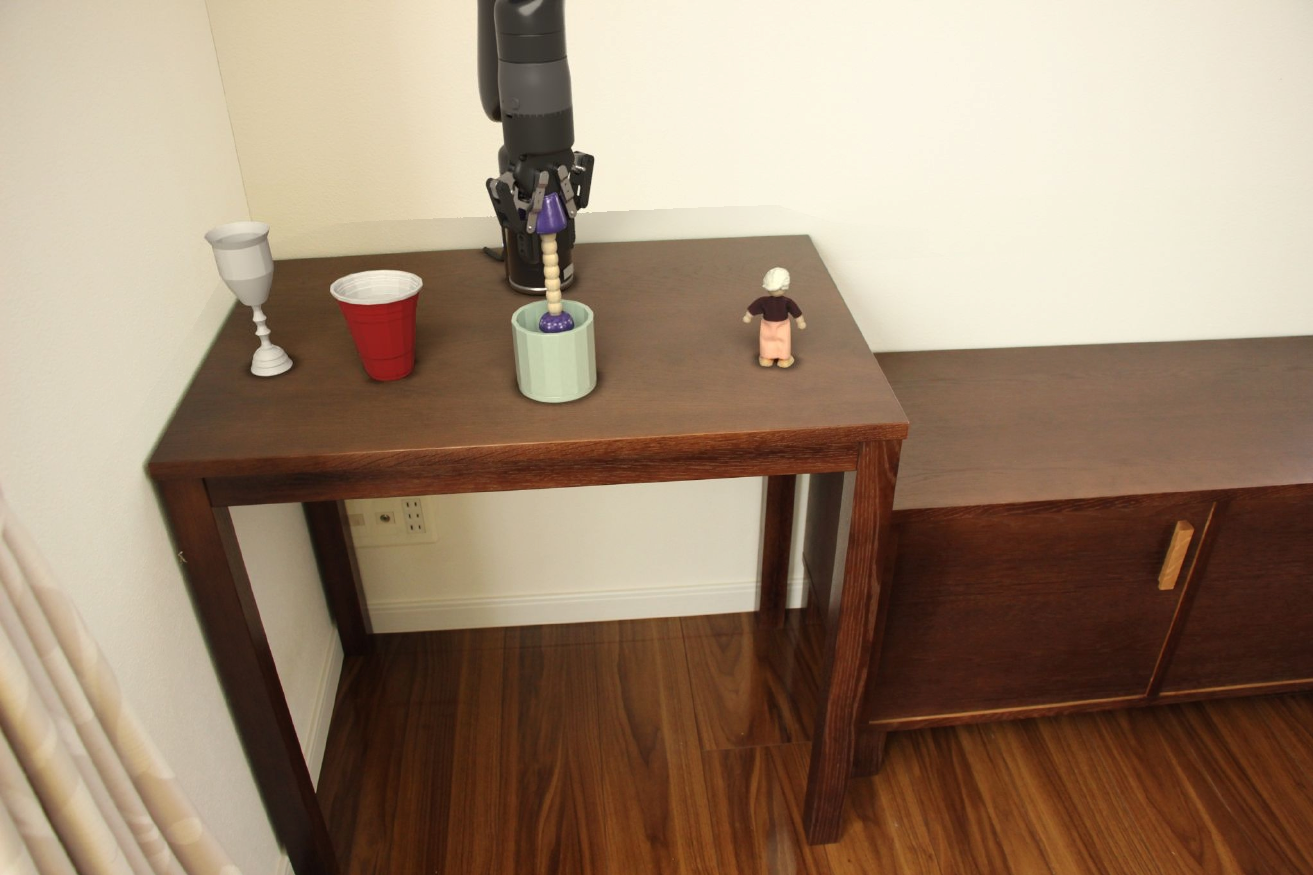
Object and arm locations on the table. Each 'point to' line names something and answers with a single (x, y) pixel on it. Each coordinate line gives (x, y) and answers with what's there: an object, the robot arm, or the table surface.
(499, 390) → the table surface
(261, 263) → the chalice
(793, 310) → the grandmother figurine
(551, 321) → the toy lamp
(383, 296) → the plastic cup
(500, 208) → the robot arm
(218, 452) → the table surface
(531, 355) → the glazed cup
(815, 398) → the table surface
